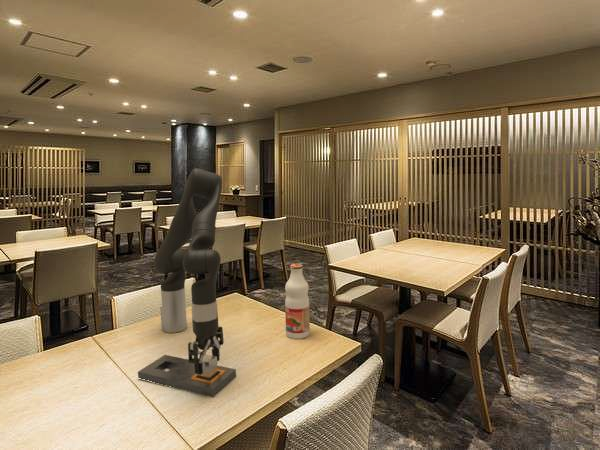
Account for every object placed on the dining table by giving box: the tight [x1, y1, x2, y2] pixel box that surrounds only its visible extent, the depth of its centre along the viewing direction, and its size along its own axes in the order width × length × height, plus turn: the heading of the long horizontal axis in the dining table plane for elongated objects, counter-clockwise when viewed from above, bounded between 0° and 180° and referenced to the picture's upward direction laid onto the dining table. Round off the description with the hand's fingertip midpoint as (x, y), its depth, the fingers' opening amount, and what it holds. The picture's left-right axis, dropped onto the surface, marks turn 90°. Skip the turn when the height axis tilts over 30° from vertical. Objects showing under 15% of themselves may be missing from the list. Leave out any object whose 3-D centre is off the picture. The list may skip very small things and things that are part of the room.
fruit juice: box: [284, 263, 311, 340], centre depth 149 cm, size 9×9×28 cm
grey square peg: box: [199, 353, 218, 381], centre depth 116 cm, size 4×4×8 cm
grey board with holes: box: [137, 354, 237, 398], centre depth 120 cm, size 28×12×3 cm, turn 68°
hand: (207, 367), depth 116 cm, fingers open, 8 cm apart
